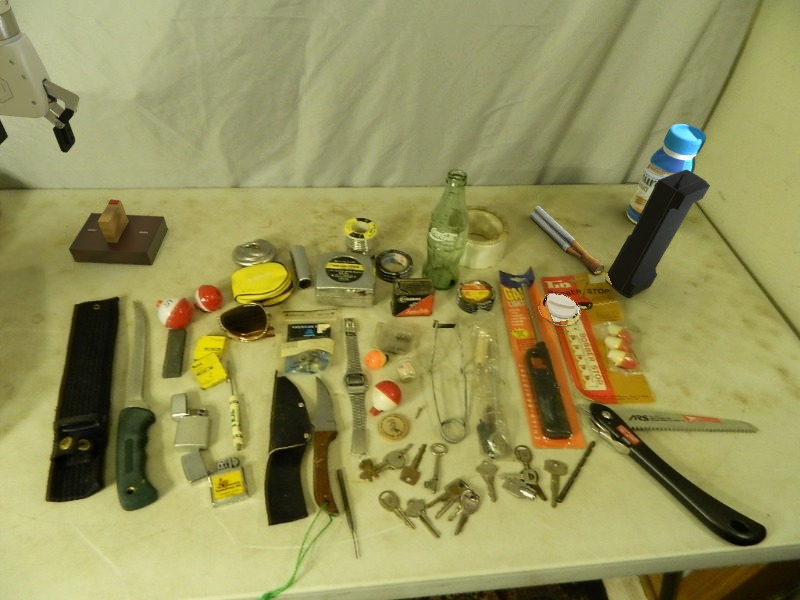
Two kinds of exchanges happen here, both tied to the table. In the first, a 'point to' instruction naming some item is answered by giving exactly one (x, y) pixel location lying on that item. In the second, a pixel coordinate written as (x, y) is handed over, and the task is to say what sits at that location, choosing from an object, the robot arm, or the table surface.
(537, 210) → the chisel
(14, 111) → the robot arm
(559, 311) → the stove knob
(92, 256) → the dark brown flat block
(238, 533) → the table surface
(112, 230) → the light wood flat block
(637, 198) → the beverage bottle
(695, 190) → the black long block
